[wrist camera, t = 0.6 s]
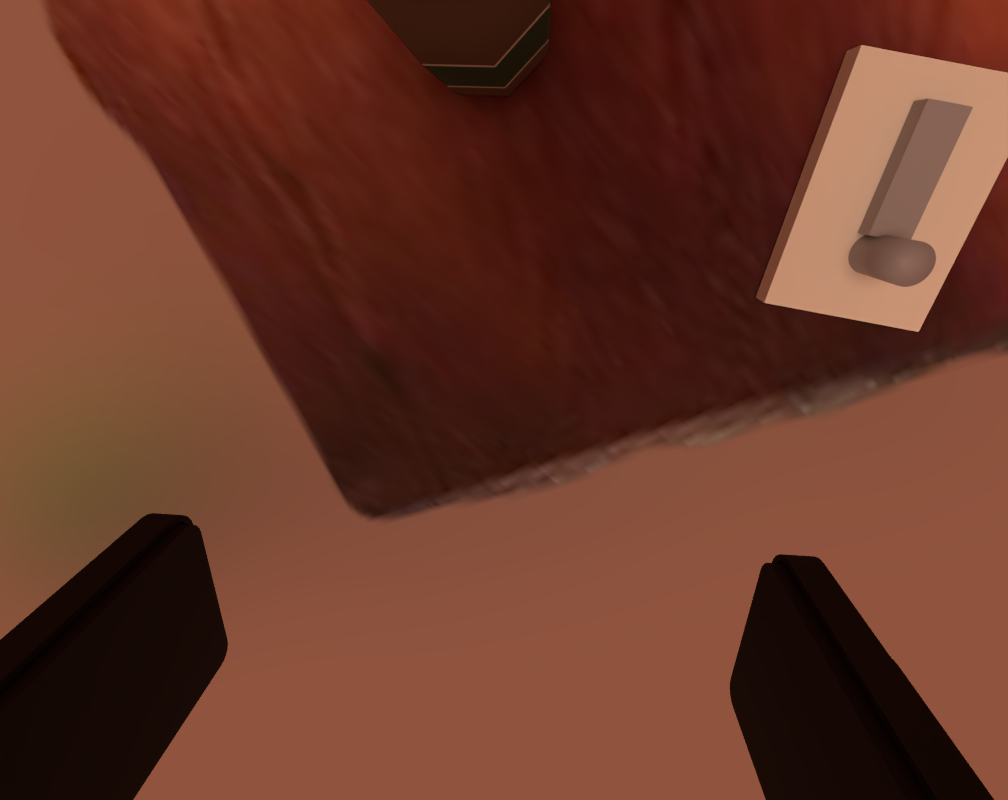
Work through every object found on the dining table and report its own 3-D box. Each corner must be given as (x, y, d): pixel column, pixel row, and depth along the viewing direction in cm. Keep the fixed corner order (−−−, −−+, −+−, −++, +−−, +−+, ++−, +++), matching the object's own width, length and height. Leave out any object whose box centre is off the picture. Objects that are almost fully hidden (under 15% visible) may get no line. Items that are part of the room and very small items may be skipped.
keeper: (846, 50, 29) (909, 26, 24) (1023, 84, 30) (1121, 66, 24) (755, 297, 35) (791, 318, 30) (903, 325, 35) (964, 351, 30)
